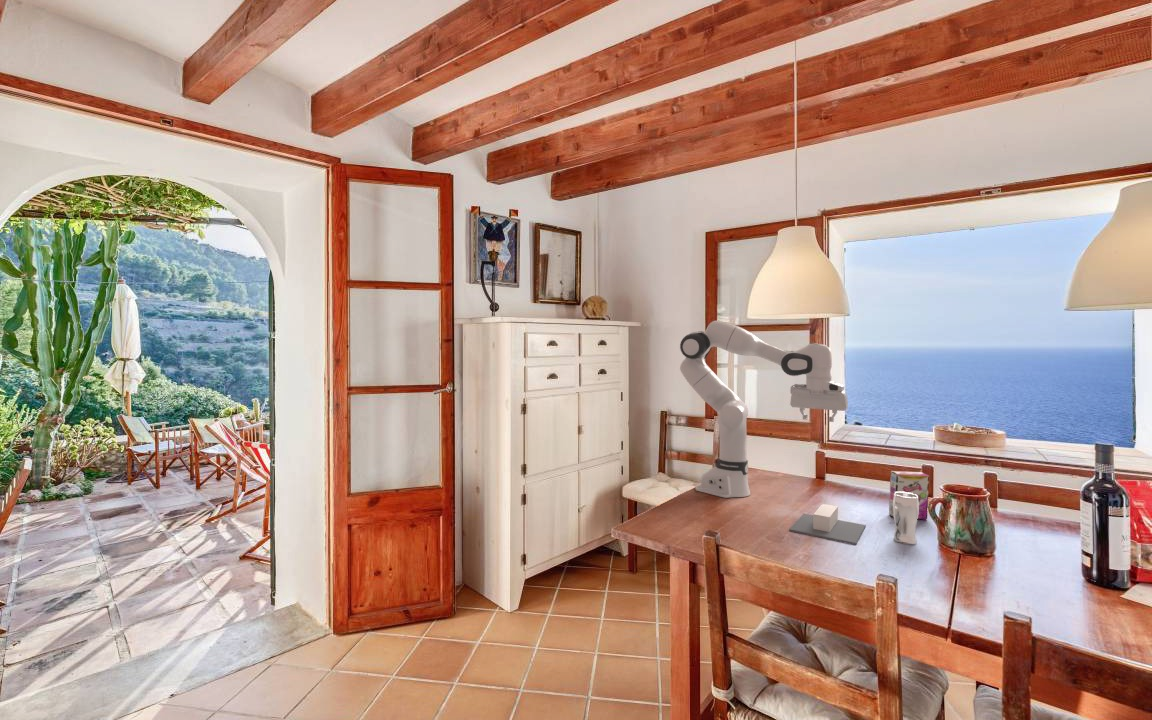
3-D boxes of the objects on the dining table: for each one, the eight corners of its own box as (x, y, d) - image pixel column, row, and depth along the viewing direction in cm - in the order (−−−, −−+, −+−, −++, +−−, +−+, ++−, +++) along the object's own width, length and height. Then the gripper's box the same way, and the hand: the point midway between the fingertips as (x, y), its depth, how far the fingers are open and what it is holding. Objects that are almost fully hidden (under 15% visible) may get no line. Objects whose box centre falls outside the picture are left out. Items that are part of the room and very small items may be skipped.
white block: (822, 517, 185) (813, 528, 174) (822, 503, 185) (813, 514, 174) (837, 520, 182) (829, 532, 171) (837, 506, 182) (829, 517, 171)
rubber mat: (789, 530, 174) (789, 529, 174) (803, 515, 190) (803, 513, 190) (856, 544, 162) (856, 543, 162) (865, 526, 178) (865, 525, 178)
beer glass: (908, 546, 160) (909, 498, 160) (887, 538, 167) (888, 492, 166) (923, 543, 163) (924, 496, 162) (901, 535, 169) (903, 490, 169)
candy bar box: (895, 519, 185) (896, 474, 185) (888, 514, 190) (889, 470, 190) (928, 520, 184) (929, 475, 184) (920, 515, 189) (921, 471, 188)
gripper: (788, 384, 204) (787, 419, 204) (846, 386, 192) (845, 423, 192) (792, 383, 209) (792, 417, 209) (849, 385, 197) (848, 421, 197)
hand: (818, 420), depth 201 cm, fingers open, 8 cm apart
